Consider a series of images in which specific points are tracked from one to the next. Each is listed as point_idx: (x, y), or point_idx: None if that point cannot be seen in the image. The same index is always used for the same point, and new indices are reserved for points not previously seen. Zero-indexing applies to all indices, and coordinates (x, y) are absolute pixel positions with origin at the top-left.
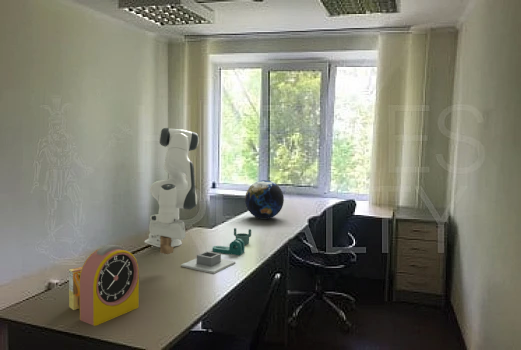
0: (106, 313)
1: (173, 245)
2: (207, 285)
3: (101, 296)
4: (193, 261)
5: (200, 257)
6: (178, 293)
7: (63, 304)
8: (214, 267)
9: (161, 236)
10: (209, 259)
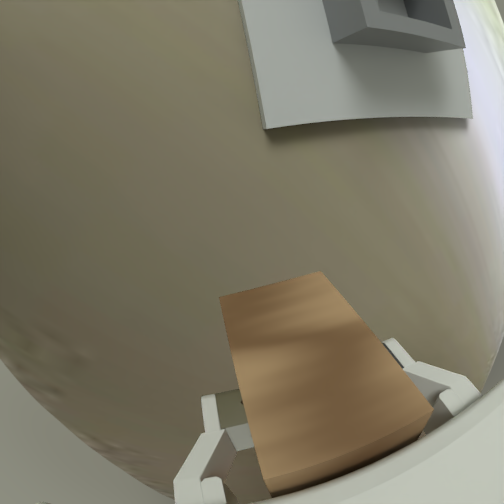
0: None
1: (395, 348)
2: (490, 245)
3: None
4: (276, 16)
5: (391, 33)
6: (445, 349)
7: (269, 498)
8: (442, 57)
9: (232, 499)
10: (448, 46)
